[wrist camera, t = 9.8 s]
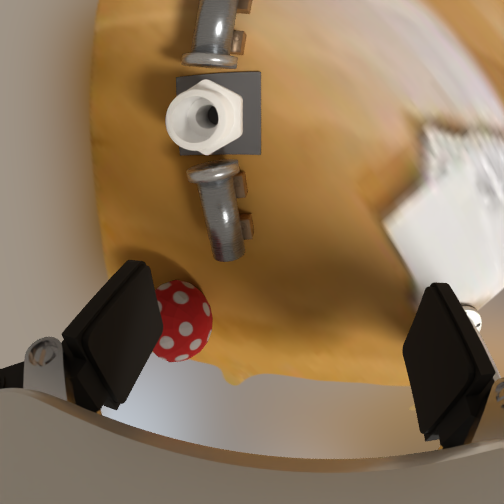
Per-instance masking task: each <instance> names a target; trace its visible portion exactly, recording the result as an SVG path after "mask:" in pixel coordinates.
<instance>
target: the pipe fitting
mask: <svg viewBox="0 0 504 504" xmlns="http://www.w3.org/2000/svg"><path fill="white" fill-rule="evenodd" d="M212 106H214V107H215V108H216V110H217V112H218V118H219V119H218V124H217V125H215V124H213V123H211V122H210V121H209V119H208V111H209V109H210V108H211V107H212ZM166 128H167V131H168V134H169V136H170V137H171V139H172V140H173V141H174V142H175V143H176V144H177V145H179V146H180V147H182V148H184V149H187V150H191V151H199V152H201V153H202V154H204V155H209V154H211V153H213V152H214V151H216V150H218V149H220V148H221V147H223V146H225V145H227V144H228V143H230V142H232V141H234V140H235V139H237V138H239V137H240V136H241V135H242V133H243V99H242V97H241V96H240V95H238V94H237V93H235V92H233V91H231V90H229V89H227V88H225V87H223V86H221V85H219V84H217V83H215V82H213V81H211V80H207V79H205V80H202V81H201V82H199V83H197V84H196V85H194V86H193V87H191V88H190V89H188V90H187V91H184V92H182V93H181V94H179V95H178V96H177V97H175V98H174V100H173V101H172V102H171V104H170V105H169V107H168V110H167V113H166Z"/></svg>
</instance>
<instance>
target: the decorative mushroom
mask: <svg viewBox="0 0 504 504" xmlns="http://www.w3.org/2000/svg"><path fill="white" fill-rule="evenodd" d="M155 293H156V297H157V302H158V306H159V310H160V314H161V318H162V322H163V332H162V335H161V336H160V338H159V340H158V342H157V344H156V345H155V347H154V349H153V352H154V353H155V354H156V355H157V356H158V357H160V358H162V359H164V360H167V361H169V362H177V361H185V360H188V359H189V358H191V357H193V356H194V355H196V354H197V353H199V352H200V351H201V350H202V349H203V347H204V346H205V345H206V343H207V342H208V339H209V337H210V334H211V331H212V320H213V318H212V313H211V308H210V305H209V303H208V301H207V300H206V298H205V296H204V295H203V293H202V292H201V291H200V290H198V289H197V288H196V287H195V286H193V285H192V284H190V283H189V282H185V281H180V280H173V281H170V282H168V283H165V284H162V285H160V286H159V287H158V288H157V289H156V290H155Z"/></svg>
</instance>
